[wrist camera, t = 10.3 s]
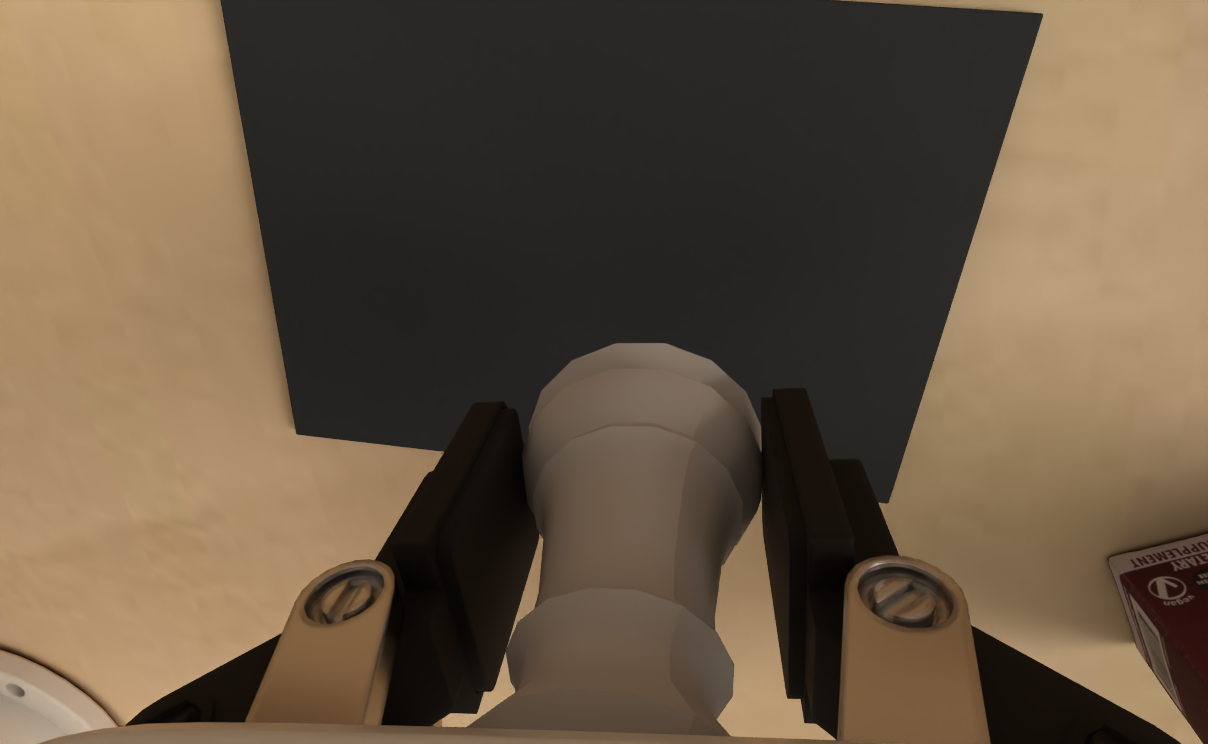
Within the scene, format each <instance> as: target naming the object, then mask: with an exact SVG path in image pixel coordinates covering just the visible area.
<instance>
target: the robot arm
mask: <svg viewBox="0 0 1208 744" xmlns="http://www.w3.org/2000/svg"><path fill="white" fill-rule="evenodd" d="M523 449H524V443H523V438H522V433H521V427H520V422H519V417H518V413H517V411H516V409H515V408H509V409H508V407H507V405H506V403H505V402H504V401H497V402H476V403H474V404H473V405H472V406H471V408H470V409H469V411H468V413H467V415H466V416H465V418H464V420H463V421H462V423H461V425H460V426H459V428H458V430H457V431H456V433H455V435H454V437H453V438H452V440H451V442H450V443H449V445H448V447H447V448H446V450H445V452H444V454H443V455H442V457H441V459H440V460H439V462H438V464H437V465H436V467H435V469H434V471H432V472H429V473H428V474H427V475H426V476H425V477H424V479H423V481H422V482H421V484H420V486H419V487H418V489H417V491H416V492H415V494H414V496H413V497H412V499H411V501H410V502H409V504H408V506H407V507H406V509H405V511H404V512H403V514H402V516H401V517H400V519H399V521H398V522H397V524H396V526H395V527H394V529H393V531H392V532H391V534H390V536H389V537H388V539H387V541H386V542H385V544H384V546H383V547H382V549H381V551H380V552H379V554H378V556H377V557H376V559H375V560H355V561H351V562H347V563H344V564H340V565H338V566H336V567H334V568H331V569H329V570H327V571H325V572H324V573H322V574H321V575H319V576H318V577H316V578H315V579H313V580H312V581H311V582H310V583H309V584H308V585H307V586H306V587H305V588H304V589H303V590H302V591H301V593H300V595H299V596H298V598H297V600H296V601H295V603H294V606H293V608H292V611H291V613H290V615H289V618H288V620H287V622H286V625H285V627H284V630H283V632H282V633H281V634H279V635H278V636H276V637H274V638H272V639H270V640H268V641H266V642H265V643H263V644H261V645H259V646H257V647H255V648H253V649H252V650H250V651H248V652H246V653H244V654H242V655H240V656H239V657H237V658H235V659H233V660H231V661H229V662H227V663H226V664H224V665H222V666H220V667H218V668H216V669H214V670H213V671H211V672H209V673H207V674H205V675H203V676H201V677H200V678H198V679H196V680H194V681H192V682H190V683H188V684H187V685H185V686H183V687H181V688H179V689H177V690H175V691H174V692H172V693H170V694H168V695H166V696H164V697H163V698H161V699H159V700H158V701H156V702H154V703H153V704H151V705H150V706H148V707H147V708H145V709H144V710H142V711H141V712H140V713H139V714H138V715H136V716H135V717H134V718H133V719H132V720H131V721H130V722H128V723H127V724H126V725H125V726H121V727H118V726H117V724H116V723H115V722H114V721H113V720H112V719H111V717H110V716H109V715H108V714H107V713H106V712H105V711H104V710H103V709H102V708H101V707H100V706H99V705H98V704H97V703H96V702H95V701H93V700H92V699H91V698H90V697H89V696H88V695H87V694H85V693H84V692H82V691H81V690H80V689H78V688H77V687H75V686H74V685H73V684H71V683H70V682H68V681H67V680H65V679H64V678H62V677H60V676H58V675H57V674H55V673H53V672H52V671H50V670H48V669H46V668H45V667H43V666H40V665H38V664H36V663H34V662H32V661H29V660H27V659H25V658H23V657H20V656H18V655H15V654H12V653H9V652H6V651H3V650H0V744H1181V743H1180V742H1179V741H1177V740H1176V739H1174V738H1172V737H1171V736H1169V735H1168V734H1166V733H1165V732H1163V731H1162V730H1160V729H1159V728H1157V727H1156V726H1154V725H1152V724H1151V723H1149V722H1147V721H1145V720H1143V719H1141V718H1140V717H1138V716H1136V715H1134V714H1132V713H1131V712H1129V711H1127V710H1125V709H1123V708H1121V707H1120V706H1118V705H1116V704H1114V703H1112V702H1110V701H1109V700H1107V699H1105V698H1103V697H1101V696H1100V695H1098V694H1096V693H1094V692H1092V691H1090V690H1089V689H1087V688H1085V687H1083V686H1081V685H1079V684H1078V683H1076V682H1074V681H1072V680H1070V679H1068V678H1067V677H1065V676H1063V675H1061V674H1059V673H1058V672H1056V671H1054V670H1052V669H1050V668H1048V667H1047V666H1045V665H1043V664H1041V663H1039V662H1037V661H1036V660H1034V659H1032V658H1030V657H1028V656H1027V655H1025V654H1023V653H1021V652H1019V651H1017V650H1016V649H1014V648H1012V647H1010V646H1008V645H1006V644H1005V643H1003V642H1001V641H999V640H997V639H995V638H994V637H992V636H990V635H988V634H986V633H985V632H983V631H981V630H979V629H977V628H975V627H974V626H972V625H971V622H970V616H969V610H968V604H967V601H966V598H965V596H964V593H963V591H962V589H961V588H960V587H959V586H958V585H957V583H956V582H955V581H954V580H953V579H952V578H951V577H950V576H948V575H947V574H946V573H944V572H943V571H941V570H940V569H939V568H937V567H935V566H932V565H930V564H928V563H926V562H923V561H921V560H918V559H913V558H909V557H905V556H899V554H898V551H897V549H896V546H895V544H894V541H893V539H892V536H891V534H890V531H889V529H888V526H887V524H886V521H885V519H884V516H883V514H882V512H881V509H880V507H879V504H878V502H877V499H876V497H875V494H874V492H873V489H872V487H871V484H870V482H869V479H868V477H867V474H866V472H865V469H864V467H863V464H862V463H861V461H860V460H859V459H829V458H828V455H827V452H826V449H825V446H824V443H823V439H822V436H821V433H820V430H819V427H818V424H817V421H816V418H815V415H814V412H813V409H812V406H811V403H810V400H809V397H808V394H807V390H806V388H784V389H773V393H772V397H761V453H762V456H763V477H762V524H763V537H764V544H765V551H766V558H767V565H768V572H769V578H770V585H771V592H772V599H773V606H774V613H775V620H776V627H777V634H778V641H779V647H780V654H781V661H782V668H783V675H784V682H785V689H786V695H787V698H788V699H801V705H802V711H803V717H804V723H815V724H817V725H819V726H820V727H821V728H822V729H824V730H825V731H826V732H828V733H829V734H830V735H831V736H833V737H834V738H835V739H836V740H810V739H783V738H757V737H731V736H704V735H678V734H650V733H620V732H590V731H560V730H528V729H496V728H464V727H442V718H444V717H445V716H447V715H448V714H450V713H467V714H477V712H478V709H479V706H480V703H481V699H482V696H483V693H484V692H491V691H492V690H493V689H494V687H495V685H496V682H497V678H498V675H499V672H500V668H501V665H502V662H503V658H504V655H505V652H506V648H507V645H508V642H509V638H510V635H511V631H512V628H513V625H514V621H515V618H516V615H517V611H518V608H519V605H520V601H521V598H522V595H523V591H524V588H525V585H526V581H527V578H528V575H529V571H530V568H531V565H532V561H533V558H534V555H535V551H536V548H537V545H538V541H539V531H538V530H537V527H536V519H535V515H534V514H533V512H532V511H531V509H530V507H529V506H528V503H527V495H526V488H525V480H524V472H523V462H522V452H523Z"/></svg>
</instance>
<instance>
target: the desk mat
mask: <svg viewBox="0 0 1208 744" xmlns="http://www.w3.org/2000/svg"><path fill="white" fill-rule="evenodd" d="M220 1H221V6H222V12H223V18H224V23H225V29H226V35H227V41H228V46H229V52H230V58H231V63H232V69H233V75H234V81H235V86H236V92H237V98H238V103H239V109H240V115H241V121H242V126H243V132H244V138H245V143H246V149H247V155H248V160H249V166H250V172H251V178H252V183H253V189H254V195H255V200H256V206H257V212H258V218H259V223H260V229H261V235H262V240H263V246H264V252H265V258H266V263H267V269H268V275H269V280H270V286H271V292H272V298H273V303H274V309H275V315H276V320H277V326H278V332H279V338H280V343H281V349H282V355H283V360H284V366H285V372H286V378H287V383H288V389H289V395H290V400H291V406H292V412H293V417H294V423H295V429H296V434H298V435H306V436H315V437H323V438H332V439H340V440H349V441H358V442H366V443H375V444H383V445H392V446H400V447H409V448H417V449H426V450H435V451H443V452H445V450H446V448H447V447H448V445H449V443H450V442H451V440H452V438H453V437H454V435H455V433H456V431H457V430H458V428H459V426H460V425H461V423H462V421H463V420H464V418H465V416H466V415H467V413H468V411H469V409H470V408H471V406H472V405H473V404H474V403H476V402H497V401H504V402H505V403H506V405H507V407H508V409H509V408H515V409H516V411H517V413H518V417H519V422H520V427H521V433H522V438H523V443H524V446H525V443H526V440H527V438H528V435H529V428H528V427H529V425H530V422H531V419H532V416H533V413H534V410H535V408H536V405H537V402H538V399H539V396H540V394H541V391H542V390H543V389H544V388H545V387H546V386H547V385H548V384H549V383H550V382H551V381H552V380H553V379H554V378H555V377H556V376H557V375H558V374H559V373H560V372H561V371H562V370H563V369H564V368H565V367H566V366H567V365H568V364H569V363H570V362H571V361H572V360H574V359H577V358H579V357H582V356H584V355H587V354H590V353H592V352H595V351H597V350H600V349H602V348H605V347H608V346H610V345H613V344H615V343H666V344H669V345H671V346H674V347H677V348H679V349H682V350H685V351H687V352H690V353H693V354H695V355H698V356H701V357H703V358H706V359H709V360H712V361H713V362H714V363H715V364H716V365H717V366H718V367H719V368H720V369H722V370H723V371H724V372H725V373H726V374H727V375H728V376H729V377H730V378H731V379H733V380H734V381H735V382H736V383H737V384H738V385H739V386H740V387H741V388H742V389H744V390H745V391H746V393H747V395H748V397H749V400H750V402H751V404H752V407H753V409H754V411H755V414H756V416H757V418H758V421H759V423H760V425H761V397H772V393H773V389H784V388H806V390H807V394H808V397H809V400H810V403H811V406H812V409H813V412H814V415H815V418H816V421H817V424H818V427H819V430H820V433H821V436H822V439H823V443H824V446H825V449H826V452H827V455H828V458H829V459H859V460H860V461H861V463H862V464H863V467H864V469H865V472H866V474H867V477H868V479H869V482H870V484H871V487H872V489H873V492H874V494H875V497H876V499H877V502H879V503H889V500H890V496H891V493H892V490H893V487H894V484H895V481H896V478H897V474H898V471H899V468H900V465H901V462H902V459H903V455H904V452H905V449H906V446H907V443H908V440H909V437H910V433H911V430H912V427H913V424H914V421H915V418H916V415H917V411H918V408H919V405H920V402H921V399H922V396H923V392H924V389H925V386H926V383H927V380H928V377H929V374H930V370H931V367H932V364H933V361H934V358H935V355H936V351H937V348H938V345H939V342H940V339H941V336H942V333H943V329H944V326H945V323H946V320H947V317H948V314H949V311H950V307H951V304H952V301H953V298H954V295H955V292H956V288H957V285H958V282H959V279H960V276H961V273H962V270H963V266H964V263H965V260H966V257H967V254H968V251H969V248H970V244H971V241H972V238H973V235H974V232H975V229H976V225H977V222H978V219H979V216H980V213H981V210H982V207H983V203H984V200H985V197H986V194H987V191H988V188H989V184H990V181H991V178H992V175H993V172H994V169H995V166H996V162H997V159H998V156H999V153H1000V150H1001V147H1002V144H1003V140H1004V137H1005V134H1006V131H1007V128H1008V125H1009V121H1010V118H1011V115H1012V112H1013V109H1014V106H1015V103H1016V99H1017V96H1018V93H1019V90H1020V87H1021V84H1022V80H1023V77H1024V74H1025V71H1026V68H1027V65H1028V62H1029V58H1030V55H1031V52H1032V49H1033V46H1034V43H1035V40H1036V36H1037V33H1038V30H1039V27H1040V24H1041V21H1042V17H1043V14H1041V13H1026V12H1010V11H994V10H978V9H963V8H947V7H931V6H915V5H899V4H884V3H868V2H852V1H836V0H220Z"/></svg>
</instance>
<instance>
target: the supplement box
mask: <svg viewBox="0 0 1208 744" xmlns="http://www.w3.org/2000/svg"><path fill="white" fill-rule="evenodd" d="M1109 565H1110V567H1111V570H1112V573H1113V575H1114V578H1115V581H1116V583H1117V586H1118V589H1119V592H1120V595H1121V598H1122V601H1123V604H1124V607H1125V611H1126V613H1127V617H1128V620H1129V624H1130V627H1131V630H1132V633H1133V636H1134V639H1135V644H1136V648H1137V649H1138V651H1139V652H1140V654H1141V655H1142V657H1143V658H1144V660H1145V661H1146V663H1147V664H1148V666H1149V667H1150V668H1151V669H1152V671H1153V673H1154V674H1155V676H1156V677H1157V679H1158V680H1159V682H1160V683H1161V685H1162V686H1163V687H1164V689H1165V690H1166V692H1167V693H1168V695H1169V696H1170V698H1171V699H1172V700H1173V702H1174V703H1175V705H1176V706H1177V708H1178V709H1179V710H1180V712H1181V713H1182V714H1183V716H1184V717H1185V718H1186V720H1187V721H1188V723H1189V724H1190V725H1191V727H1192V728H1193V730H1194V731H1195V733H1196V734H1197V736H1198V737H1199V738H1200V740H1201V741H1202V742H1203V744H1208V534H1205V535H1201V536H1197V537H1193V538H1189V539H1185V540H1181V541H1177V542H1173V543H1169V544H1165V545H1161V546H1156V547H1152V548H1148V549H1144V550H1141V551H1135V552H1128V553H1124V554H1120V555H1116V556H1112V557H1110V558H1109Z"/></svg>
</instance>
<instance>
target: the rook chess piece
mask: <svg viewBox="0 0 1208 744" xmlns="http://www.w3.org/2000/svg"><path fill="white" fill-rule="evenodd" d="M528 428H529V435H528V438H527V440H526V443H525V446H524V449H523V452H522V462H523V472H524V480H525V488H526V495H527V503H528V506H529V507H530V509H531V511H532V512H533V514H534V515H535V519H536V527H537V530H538V531H539V533H540V535H541V536H542V538H543V539H544V540H543V551H542V562H541V573H540V584H539V594H538V597H537V601H536V605H535V608H534V610H533V611H531V612H530V613H529V614H527V615H526V616H525V617H524V618H522V619H521V620H520V621H519V622H518V623H517V625H516V628H515V630H514V633H513V635H512V637H511V640H510V642H509V645H508V647H507V649H506V656H507V662H508V668H509V674H510V680H511V683H512V685H513V686H514V688H515V690H516V691H515V693H514V694H513V695H511V696H510V697H508V698H507V699H505V700H504V701H503V702H501V703H500V704H498V705H497V706H496V707H494V708H493V709H491V710H490V711H489V712H487V713H486V714H484V715H483V716H482V717H480V718H479V719H477V720H476V721H475V722H473V723H472V724H470V725H469V726H468V727H466V728H496V729H528V730H560V731H590V732H620V733H650V734H678V735H704V736H730V735H729V734H728V733H727V731H726V730H725V729H724V728H723V727H722V726H721V725H720V724H719V722H718V721H717V720H716V719H717V718H718V717H719V715H720V714H721V712H722V711H723V709H724V708H725V706H726V705H727V704H728V702H729V701H730V699H731V698H732V696H733V678H734V663H733V661H732V660H731V658H730V656H729V654H728V652H727V650H726V648H725V647H724V645H723V643H722V641H721V639H720V637H719V635H718V633H717V632H716V631H715V611H716V604H717V596H718V589H719V581H720V574H721V566H722V565H723V564H724V563H725V561H726V560H727V558H728V556H729V555H730V553H731V551H732V550H733V548H734V546H735V545H737V544H738V542H739V541H740V539H741V537H742V536H743V534H744V532H745V530H746V529H747V527H748V525H749V524H750V522H751V520H752V519H753V517H754V515H755V514H756V512H757V510H758V507H759V503H760V500H761V493H762V477H763V456H762V453H761V425H760V423H759V421H758V418H757V416H756V414H755V411H754V409H753V407H752V404H751V402H750V400H749V397H748V395H747V393H746V391H745V390H744V389H742V388H741V387H740V386H739V385H738V384H737V383H736V382H735V381H734V380H733V379H731V378H730V377H729V376H728V375H727V374H726V373H725V372H724V371H723V370H722V369H720V368H719V367H718V366H717V365H716V364H715V363H714V362H713V361H712V360H709V359H706V358H703V357H701V356H698V355H695V354H693V353H690V352H687V351H685V350H682V349H679V348H677V347H674V346H671V345H669V344H666V343H615V344H613V345H610V346H608V347H605V348H602V349H600V350H597V351H595V352H592V353H590V354H587V355H584V356H582V357H579V358H577V359H574V360H572V361H571V362H570V363H569V364H568V365H567V366H566V367H565V368H564V369H563V370H562V371H561V372H560V373H559V374H558V375H557V376H556V377H555V378H554V379H553V380H552V381H551V382H550V383H549V384H548V385H547V386H546V387H545V388H544V389H543V390H542V391H541V394H540V396H539V399H538V402H537V405H536V408H535V410H534V413H533V416H532V419H531V422H530V425H529V427H528Z"/></svg>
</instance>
